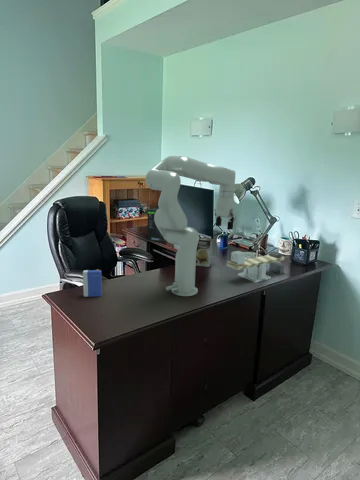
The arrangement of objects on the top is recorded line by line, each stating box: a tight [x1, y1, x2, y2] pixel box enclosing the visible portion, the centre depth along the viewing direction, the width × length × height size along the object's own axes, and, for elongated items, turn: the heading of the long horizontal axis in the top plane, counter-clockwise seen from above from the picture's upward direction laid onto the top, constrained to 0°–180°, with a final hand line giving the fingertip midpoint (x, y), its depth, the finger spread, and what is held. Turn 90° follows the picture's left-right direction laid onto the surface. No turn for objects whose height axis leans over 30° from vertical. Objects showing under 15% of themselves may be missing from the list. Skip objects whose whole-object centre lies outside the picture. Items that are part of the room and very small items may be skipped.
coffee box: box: [196, 237, 213, 268], centre depth 201 cm, size 9×6×16 cm
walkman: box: [82, 269, 103, 298], centre depth 153 cm, size 8×3×12 cm, turn 96°
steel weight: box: [230, 250, 246, 265], centre depth 174 cm, size 5×5×6 cm
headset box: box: [147, 207, 169, 244], centre depth 257 cm, size 22×12×26 cm, turn 73°
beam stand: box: [237, 257, 285, 284], centre depth 187 cm, size 26×13×9 cm, turn 124°
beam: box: [226, 251, 285, 271], centre depth 183 cm, size 36×8×4 cm, turn 124°
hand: (224, 227), depth 176 cm, fingers open, 9 cm apart
